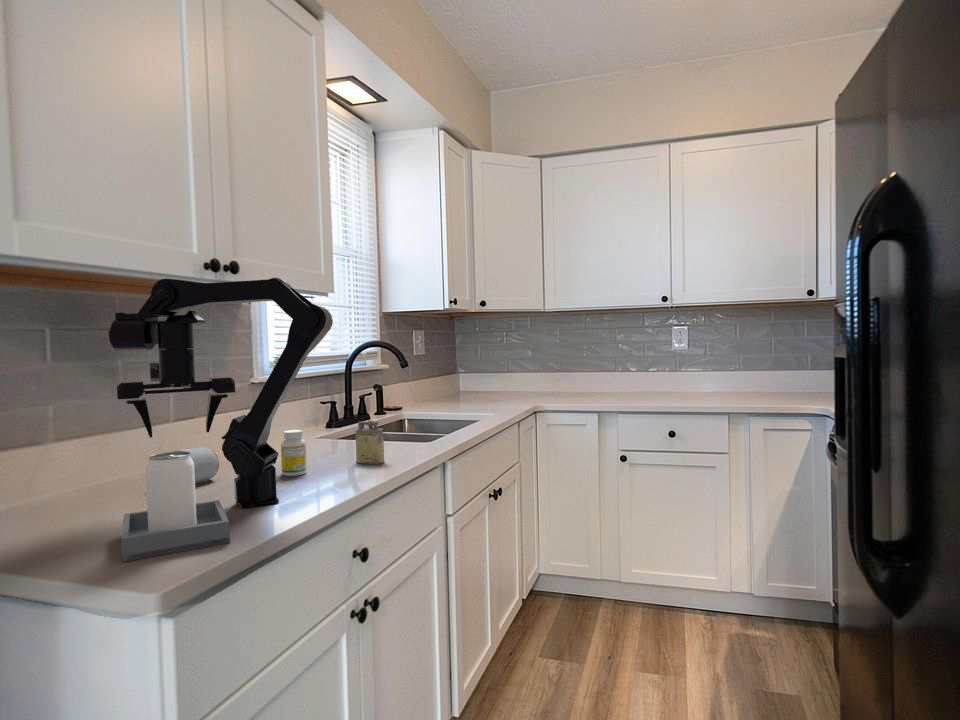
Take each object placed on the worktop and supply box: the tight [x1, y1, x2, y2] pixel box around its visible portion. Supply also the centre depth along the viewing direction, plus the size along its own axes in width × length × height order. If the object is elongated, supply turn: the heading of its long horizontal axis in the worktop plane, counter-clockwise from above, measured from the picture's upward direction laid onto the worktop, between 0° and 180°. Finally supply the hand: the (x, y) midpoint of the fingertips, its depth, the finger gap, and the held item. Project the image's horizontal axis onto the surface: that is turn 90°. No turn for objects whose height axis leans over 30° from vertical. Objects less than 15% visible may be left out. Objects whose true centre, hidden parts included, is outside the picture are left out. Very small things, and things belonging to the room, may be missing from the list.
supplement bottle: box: [280, 429, 308, 477], centre depth 130 cm, size 5×5×10 cm
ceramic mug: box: [173, 447, 220, 485], centre depth 124 cm, size 11×8×8 cm
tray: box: [120, 500, 231, 563], centre depth 88 cm, size 14×14×3 cm
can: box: [145, 451, 197, 533], centre depth 88 cm, size 6×6×12 cm
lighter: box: [355, 420, 385, 465], centre depth 140 cm, size 7×4×10 cm, turn 74°
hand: (179, 434), depth 106 cm, fingers open, 9 cm apart
